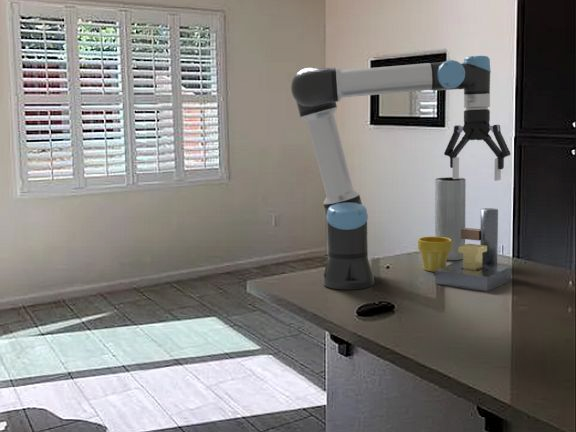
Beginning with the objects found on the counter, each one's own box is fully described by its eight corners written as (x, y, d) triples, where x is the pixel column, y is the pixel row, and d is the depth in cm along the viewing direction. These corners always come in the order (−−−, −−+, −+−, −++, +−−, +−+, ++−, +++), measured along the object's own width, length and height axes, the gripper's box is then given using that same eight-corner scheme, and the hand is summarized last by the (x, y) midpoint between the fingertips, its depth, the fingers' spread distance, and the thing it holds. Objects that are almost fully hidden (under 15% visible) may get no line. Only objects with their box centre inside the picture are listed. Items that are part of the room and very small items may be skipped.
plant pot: (455, 267, 216) (455, 237, 214) (444, 274, 207) (444, 243, 206) (425, 264, 221) (424, 235, 220) (413, 271, 213) (412, 240, 211)
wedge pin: (458, 282, 197) (458, 246, 195) (467, 278, 201) (468, 243, 200) (477, 285, 193) (477, 249, 191) (486, 281, 197) (487, 245, 196)
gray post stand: (433, 283, 197) (433, 215, 194) (466, 269, 212) (466, 206, 210) (487, 291, 186) (487, 220, 183) (517, 276, 202) (518, 210, 199)
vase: (470, 259, 226) (470, 179, 222) (442, 261, 225) (442, 180, 221) (457, 253, 236) (457, 176, 232) (430, 255, 234) (430, 178, 230)
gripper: (433, 110, 207) (433, 179, 211) (512, 107, 191) (510, 182, 194) (445, 109, 213) (445, 176, 216) (522, 107, 197) (521, 179, 200)
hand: (476, 179), depth 205 cm, fingers open, 13 cm apart
